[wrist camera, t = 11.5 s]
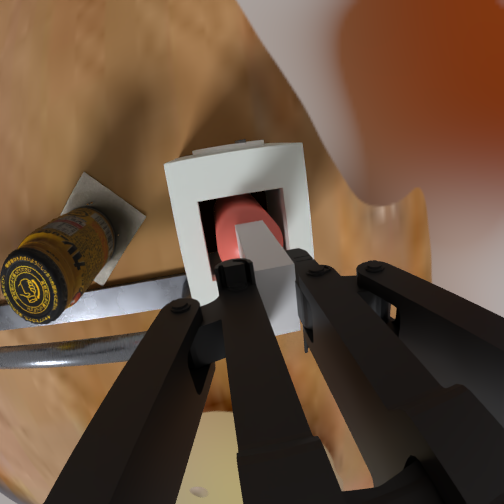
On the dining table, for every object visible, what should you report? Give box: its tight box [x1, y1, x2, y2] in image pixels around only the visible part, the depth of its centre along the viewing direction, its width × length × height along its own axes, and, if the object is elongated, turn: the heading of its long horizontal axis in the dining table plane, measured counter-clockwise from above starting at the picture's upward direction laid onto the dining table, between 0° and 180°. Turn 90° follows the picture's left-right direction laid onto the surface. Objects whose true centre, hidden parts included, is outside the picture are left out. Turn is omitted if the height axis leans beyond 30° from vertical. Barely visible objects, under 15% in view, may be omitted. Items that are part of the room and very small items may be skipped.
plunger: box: [213, 193, 283, 262], centre depth 22 cm, size 4×4×9 cm
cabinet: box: [164, 139, 314, 306], centre depth 24 cm, size 11×8×10 cm
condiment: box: [0, 172, 146, 324], centre depth 22 cm, size 7×8×12 cm
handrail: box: [0, 273, 192, 369], centre depth 25 cm, size 28×3×10 cm, turn 98°
